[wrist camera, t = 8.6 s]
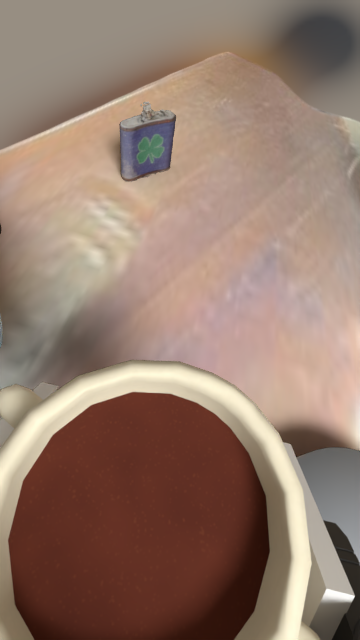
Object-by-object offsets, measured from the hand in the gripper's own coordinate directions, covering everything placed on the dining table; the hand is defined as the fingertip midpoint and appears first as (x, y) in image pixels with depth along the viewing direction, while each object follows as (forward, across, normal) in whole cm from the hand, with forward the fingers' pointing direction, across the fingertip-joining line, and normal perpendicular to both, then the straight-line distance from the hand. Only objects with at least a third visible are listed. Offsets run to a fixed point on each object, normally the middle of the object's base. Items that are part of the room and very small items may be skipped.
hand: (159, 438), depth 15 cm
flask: (+47, -12, +17) cm, 52 cm away
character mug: (+2, 0, -6) cm, 6 cm away
